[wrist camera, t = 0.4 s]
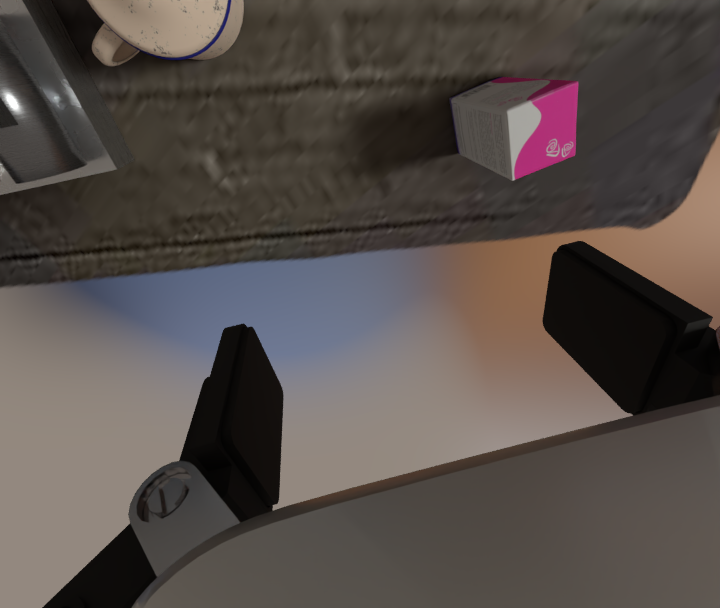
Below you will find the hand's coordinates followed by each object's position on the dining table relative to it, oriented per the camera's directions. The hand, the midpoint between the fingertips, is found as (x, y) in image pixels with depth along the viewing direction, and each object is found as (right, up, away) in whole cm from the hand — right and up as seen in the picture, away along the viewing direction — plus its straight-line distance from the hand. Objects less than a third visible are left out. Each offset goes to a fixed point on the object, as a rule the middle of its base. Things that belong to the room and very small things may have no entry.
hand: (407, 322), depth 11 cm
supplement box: (+11, +20, +26) cm, 35 cm away
